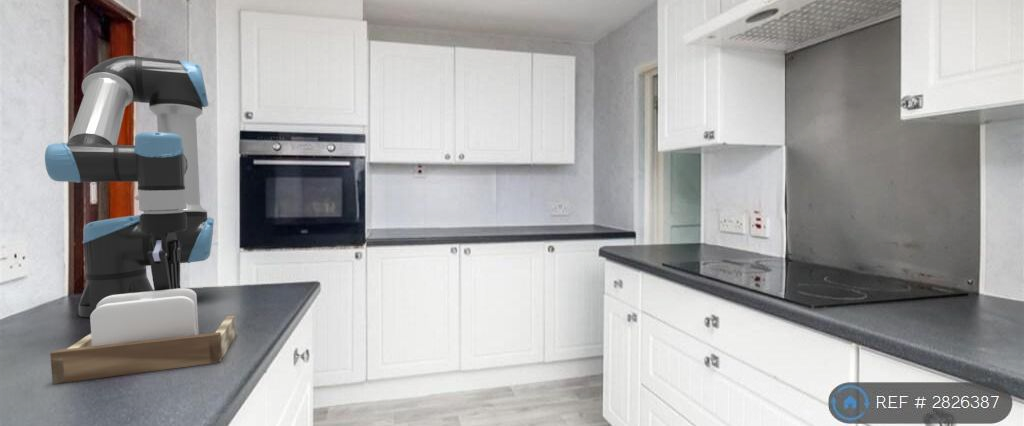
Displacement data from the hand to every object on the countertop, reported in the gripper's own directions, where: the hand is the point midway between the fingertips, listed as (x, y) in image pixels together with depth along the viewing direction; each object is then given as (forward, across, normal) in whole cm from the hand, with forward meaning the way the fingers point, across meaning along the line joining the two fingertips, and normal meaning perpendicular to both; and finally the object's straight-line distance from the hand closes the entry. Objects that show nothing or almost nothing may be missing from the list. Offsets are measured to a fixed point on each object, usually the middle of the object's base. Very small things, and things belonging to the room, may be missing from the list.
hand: (170, 329), depth 95 cm
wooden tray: (+2, +8, 0) cm, 9 cm away
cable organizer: (+3, +9, -1) cm, 10 cm away
